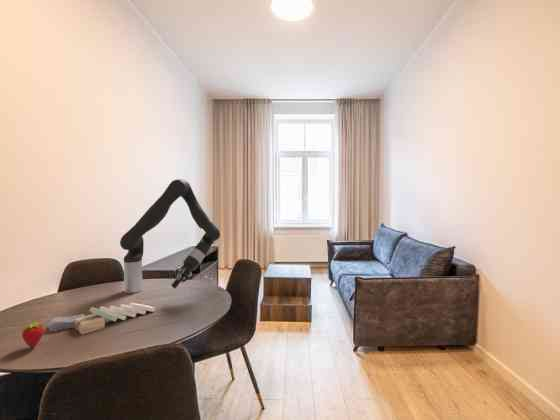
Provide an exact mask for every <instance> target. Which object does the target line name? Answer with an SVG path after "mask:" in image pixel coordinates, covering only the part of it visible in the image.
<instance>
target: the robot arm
mask: <svg viewBox="0 0 560 420" xmlns="http://www.w3.org/2000/svg"><path fill="white" fill-rule="evenodd" d="M180 197H181V198H182V200H183V201H184V202H185V203H186V205H187V207H188V209H189V212H190V215H191V217H192V220H193V221H194V223H195V224H196V225H197V226H198V228H199V229H202V230H203V231H204V232H205V233H204V234H203V236H202V237H201V239H200V240H199V242H198V243H197V244H196V246H194V248H193V249H192V250H191V251H190V252H189V253H188V255H187V256H186V258H185V259H184V260H183V262H182V263H183V265H182V266H180V269H178V268H176V269H175V272H174V281H173V283H172V284H171V288H173V289H177V287H179V285H180V284H181V283H185V282H186V281H188V280H189V279H191V278H192V277H193V273H192V272H193V271H196V270H197V268H198V267H199V266H200V264H202V263H201V262H202V261H203V260H204V258H205V256H206V255H208V252H210V251H209V250H210V249H211V246H212V245H213V244H214V243H215V242H216V241H218V240H219V238H220V237H221V233H220V230H219V228H218V227H217V226H216V225H215V224H214V223H213V222H212V221H211V220H210V218H209V216H208V215H207V214H206V212H205V211H204V209H203V208H202V206H201V204H200V203H199V201H198V199H197V196H196V195H195V193H194V191H193V189H192V187H191V184H190V182H189V181H187V180H186V179H183V178H180V179H179V178H178V179H174V180H172V181H171V182H170V183H169V184H168V186H167V187H166V188H165V190H164V192H162V194H161V196H159V197H158V198H157V200H155V201H154V202H153V204H152V205H150V207H149V208H148V209H147V210H146V212H144V214H143V215H142V216H141V217H140V219H139V220H137V222H136V223H135V224H134V225H133V226H132V227H131V228H130V229H128V230H127V231H126V232H125V234H123V235H122V237H121V239H120V240H119V244H120V247H121V249H123V250H125V251H127V253H126V254H125V256H123V279H124V280H123V281H124V283H123V285H124V286H123V288H124V290H123V291H124V293H125V294H135V293H139V292H141V291H143V257H144V249H145V248H144V247H145V246H144V237H143V236H144V235H145V234H146V233H148V232H149V231H151V230H152V229H154V228H155V227H157V226H158V225H159V224H160V223H161V222H162V220H164V219H165V217H166V216H167V214H168V212H169V210H170V208H171V207H172V205H173V204H174V203H175V202H176V201H177V200H178V199H179V198H180Z"/></svg>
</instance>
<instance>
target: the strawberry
mask: <svg viewBox="0 0 560 420" xmlns="http://www.w3.org/2000/svg"><path fill="white" fill-rule="evenodd" d="M35 321H36V319H34V321H32V322H31V323H30V324H26V325H25V326H24V329H23V331H22V333H21V337H22V339H23V341H24V343H26V345H27V346H29V348H31V347H34V348H35V347H36V346H37V344H38V343H39V342H40V340H42V338H43V336H44V331H45V329H44V326H43V325H42V323H38V322H35Z"/></svg>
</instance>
